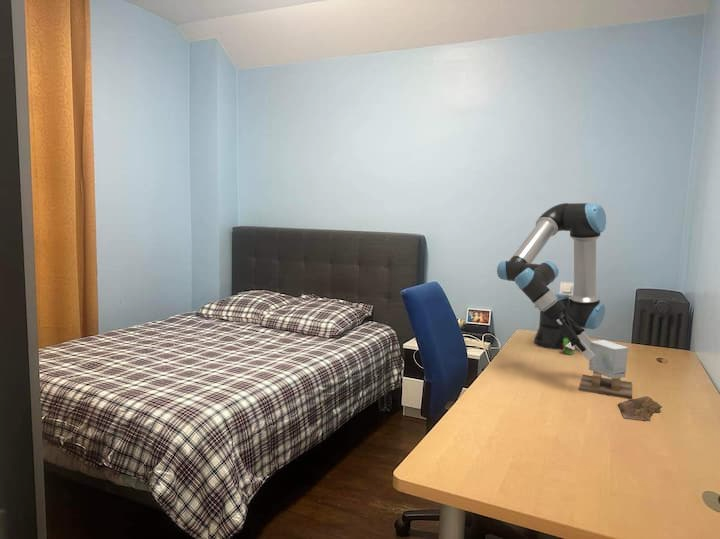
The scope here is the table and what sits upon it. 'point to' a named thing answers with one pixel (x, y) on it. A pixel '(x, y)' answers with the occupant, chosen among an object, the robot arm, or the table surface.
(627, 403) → the wooden fragment
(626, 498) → the table surface
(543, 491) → the table surface
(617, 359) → the skincare box
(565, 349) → the geometric puzzle
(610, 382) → the ridge board
